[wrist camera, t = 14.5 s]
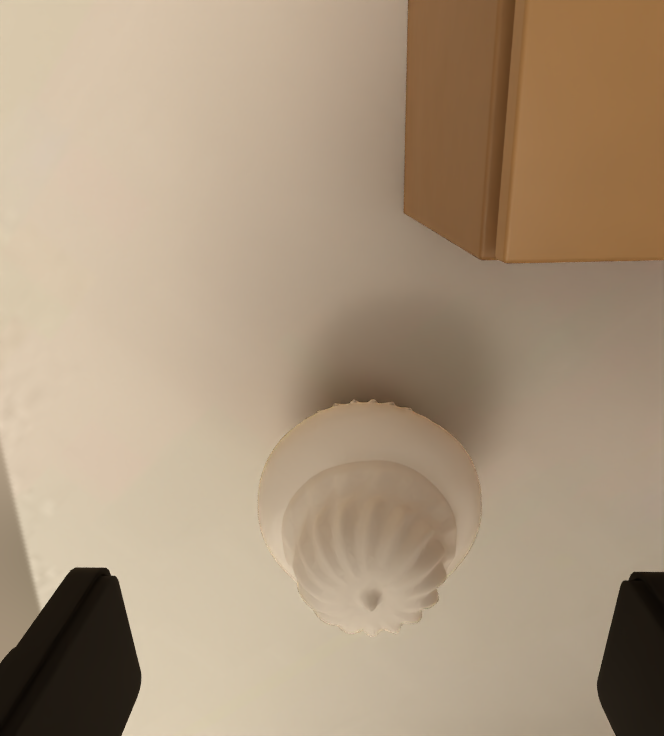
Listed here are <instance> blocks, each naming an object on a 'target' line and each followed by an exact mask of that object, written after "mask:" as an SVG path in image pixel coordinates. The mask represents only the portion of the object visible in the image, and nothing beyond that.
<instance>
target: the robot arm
mask: <svg viewBox="0 0 664 736" xmlns="http://www.w3.org/2000/svg"><path fill="white" fill-rule="evenodd" d="M140 685H141V671H140V666H139V662H138V658H137V654H136V650H135V646H134V642H133V638H132V634H131V630H130V626H129V622H128V618H127V614H126V610H125V605H124V601H123V597H122V593H121V589H120V585H119V581H118V579H117V577H116V576H111V574H110V572H109V570H108V569H107V568H74V569H72V570H71V571H70V572H69V573H68V574H67V576H66V577H65V579H64V580H63V581H62V583H61V584H60V586H59V587H58V588H57V590H56V591H55V593H54V594H53V595H52V597H51V598H50V600H49V601H48V602H47V604H46V605H45V607H44V608H43V609H42V611H41V612H40V614H39V615H38V616H37V618H36V619H35V621H34V622H33V624H32V625H31V626H30V628H29V629H28V631H27V632H26V633H25V635H24V636H23V638H22V639H21V640H20V642H19V643H18V645H17V646H16V647H15V648H13V649H12V650H11V651H10V652H9V653H8V654H7V655H6V657H5V658H4V659H3V660H2V662H1V663H0V736H121V735H122V733H123V730H124V728H125V725H126V723H127V721H128V718H129V716H130V713H131V711H132V709H133V706H134V704H135V701H136V699H137V696H138V693H139V690H140ZM597 690H598V696H599V699H600V702H601V705H602V707H603V710H604V712H605V714H606V716H607V718H608V720H609V722H610V725H611V727H612V729H613V731H614V733H615V735H616V736H664V572H633V573H632V574H631V576H630V578H629V581H623V582H622V583H621V586H620V590H619V594H618V598H617V602H616V606H615V611H614V615H613V619H612V623H611V627H610V631H609V635H608V639H607V643H606V648H605V652H604V656H603V660H602V664H601V668H600V672H599V676H598V681H597Z"/></svg>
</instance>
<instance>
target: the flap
mask: <svg viewBox="0 0 664 736" xmlns="http://www.w3.org/2000/svg"><path fill="white" fill-rule="evenodd" d="M495 257H496V259H498V260H500V261H502V262H504V263H553V262H601V261H648V260H664V0H516V1H515V14H514V26H513V38H512V51H511V63H510V76H509V88H508V101H507V113H506V125H505V138H504V150H503V163H502V175H501V188H500V200H499V213H498V225H497V237H496V250H495Z"/></svg>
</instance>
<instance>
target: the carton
mask: <svg viewBox="0 0 664 736" xmlns="http://www.w3.org/2000/svg"><path fill="white" fill-rule="evenodd" d="M515 1H516V0H408V29H407V76H406V123H405V170H404V213H405V214H406V215H408V216H410V217H411V218H413V219H414V220H416V221H418V222H419V223H421V224H423V225H424V226H426V227H428V228H429V229H431V230H432V231H434V232H436V233H437V234H439V235H441V236H442V237H444V238H446V239H447V240H449V241H450V242H452V243H454V244H455V245H457V246H459V247H460V248H462V249H463V250H465V251H467V252H468V253H470V254H472V255H473V256H475V257H477V258H478V259H480V260H498V259H496V257H495V250H496V237H497V225H498V213H499V200H500V188H501V175H502V163H503V150H504V138H505V125H506V113H507V101H508V88H509V76H510V63H511V51H512V38H513V26H514V14H515Z"/></svg>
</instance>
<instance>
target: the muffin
mask: <svg viewBox="0 0 664 736" xmlns="http://www.w3.org/2000/svg"><path fill="white" fill-rule="evenodd" d="M481 512H482V501H481V489H480V484H479V479H478V476H477V472H476V469H475V467H474V464H473V462H472V460H471V458H470V456H469V455H468V453H467V451H466V450H465V449H464V447H463V446H462V445H461V444H460V443H459V441H458V440H457V439H456V438H455V437H453V436H452V435H451V434H450V433H449V432H447V431H446V430H445V429H443V428H442V427H441V426H439V425H438V424H436V423H434V422H433V421H431V420H429V419H428V418H427V417H424V416H422V415H420V414H418V413H415V412H413V411H412V409H411V408H407V407H398V406H396V405H395V403H394V402H386V403H377V401H376V400H374V399H371V400H370V401H369V402H358V401H357V400H352V401H351V402H350V403H349V404H337V403H335V404H334V405H333V407H331V408H328V409H326V410H320V411H317V412H316V414H314V415H313V416H311V417H308V418H306V419H305V420H304V421H302V422H301V423H299V424H298V425H297V426H295V427H294V428H293V429H292V430H291V431H289V432H288V433H287V434H286V435H285V436H284V437H283V438H282V439H281V440H280V441H279V443H278V444H277V445H276V447H275V448H274V449H273V451H272V453H271V454H270V456H269V458H268V460H267V462H266V464H265V466H264V469H263V472H262V475H261V479H260V483H259V490H258V518H259V524H260V529H261V532H262V536H263V538H264V541H265V543H266V545H267V547H268V549H269V551H270V553H271V554H272V556H273V557H274V559H275V560H276V561H277V563H278V564H279V565H280V566H281V568H282V569H283V570H284V571H285V572H286V573H287V574H288V575H289V576H290V577H291V578H292V579H294V580H295V581H296V582H297V587H298V592H299V594H300V596H301V597H302V599H303V601H304V602H305V603H306V604H307V605H308V606H309V607H311V608H312V609H313V610H314V612H315V614H316V615H317V616H318V617H319V618H320V619H321V620H322V621H323V622H325V623H327V624H329V625H338V627H339V628H340V629H341V630H342V631H344V632H345V633H349V634H354V633H357V632H359V631H362V630H363V631H364V632H365V633H366V634H367V635H368V636H371V637H374V636H376V635H377V634H378V633H379V632H381V631H382V630H387V631H389V632H391V633H398V632H399V630H400V628H401V626H402V624H403V623H408V624H415V623H418V622H419V621H420V620H421V618H422V610H424V609H428V608H431V607H432V606H434V605H435V604H436V603H437V602H438V592H437V588H438V587H439V586H440V585H441V584H442V583H444V581H445V580H446V578H448V577H449V576H450V575H451V574H452V573H453V571H454V570H455V569H456V568H457V567H458V566H459V565H460V563H461V562H462V561H463V559H464V558H465V556H466V555H467V553H468V552H469V550H470V548H471V547H472V545H473V543H474V540H475V538H476V536H477V533H478V530H479V526H480V521H481Z"/></svg>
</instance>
